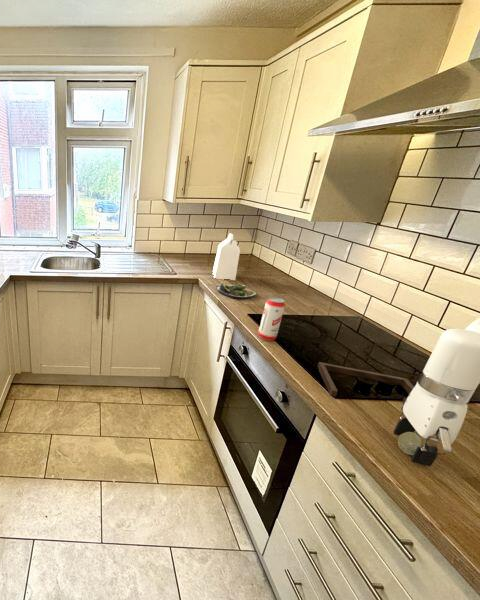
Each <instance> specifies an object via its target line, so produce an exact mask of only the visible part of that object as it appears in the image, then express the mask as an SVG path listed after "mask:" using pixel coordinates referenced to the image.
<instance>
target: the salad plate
mask: <svg viewBox="0 0 480 600" xmlns="http://www.w3.org/2000/svg"><path fill="white" fill-rule="evenodd" d="M214 287H215V288H216V291H217V292H218V293H219V294H220V295H222V296H224V297H226V298H230V299H234V300H244V299H248V298H249V299H250V298H251V297H254V296H256V295H257V292H256V291H254V290H251V289H250V288H251V286H246V285H245V284H243V285H242V284H228V285H227V284H226V283H221V284H220V285H215V286H214Z"/></svg>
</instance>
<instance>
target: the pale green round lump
mask: <svg viewBox="0 0 480 600" xmlns="http://www.w3.org/2000/svg"><path fill="white" fill-rule="evenodd" d="M398 436H399V435H398ZM397 445H398V447H399V449H400V450H401V451H402V452H403V453H404V454H407V455H410V456H411V457H412V456H413V454H414V452H415V450H416V449H417V447H421V436H420V435H419V434H418V432H414V433H413V432H406V433H403V434H401V435H400V436H399V437H398V439H397Z"/></svg>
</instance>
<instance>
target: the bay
mask: <svg viewBox="0 0 480 600" xmlns="http://www.w3.org/2000/svg"><path fill="white" fill-rule="evenodd" d="M317 367H318V368H317ZM317 367H316V368H317V370H318V369H319V370H318V372H319V374H320V376H321V378H322V381H323V382H324V385H325V387H326V389H327V391H328V393H329V395H330V397H334V398H336V397H337V394H338V392H339V391H338V388H337V387H336V385H335V383H334V381H333V379H332V377H331V374H330V373H329V372H332V373H337V374H343V375H347V376H353V377H357V378H363V379H367V380H373V381H378V382H383V383H388V384H393V385H397V386H401V387H402V388H403V389H404V391H406V393H407V394H408V395H409V394H410V393H411V391H412V390H413V388H414V387H415V385H413V384H412V383H411V382H410V380H409V378H405V377H401V376H396V375H390V374H384V373H379V372H374V371H368V370H363V369H357V368H352V367H347V366H342V365H337V364H332V363H327V362H322V361H319V362H318V364H317Z"/></svg>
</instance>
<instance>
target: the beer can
mask: <svg viewBox="0 0 480 600" xmlns="http://www.w3.org/2000/svg"><path fill="white" fill-rule="evenodd" d="M285 307H286V304H285V300H284V299H282V298H280V297H274V296H272V297H271V296H270V297H268V299H267V300H266V302H265V305H264V308H263V313H262V316H261V320H260V325H259V328H258V332H257V335H258V337H259V338H260V339H262V341H263V340H264V341H268V342H272V341H274V340H276V339H277V337H278V333H279V330H280V326H281V322H282V320H283V319H282V318H283V316H284V312H285Z"/></svg>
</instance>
